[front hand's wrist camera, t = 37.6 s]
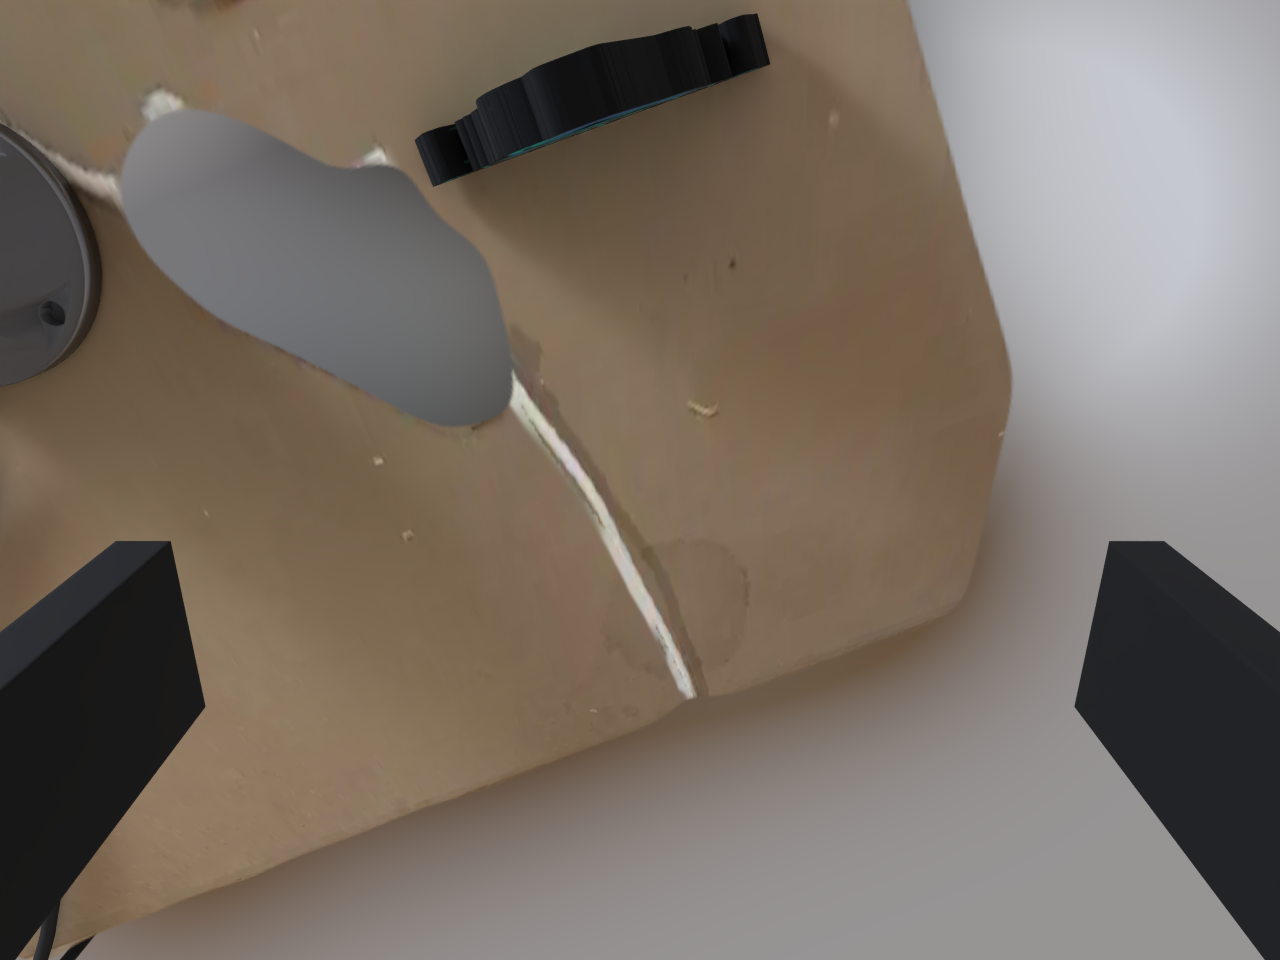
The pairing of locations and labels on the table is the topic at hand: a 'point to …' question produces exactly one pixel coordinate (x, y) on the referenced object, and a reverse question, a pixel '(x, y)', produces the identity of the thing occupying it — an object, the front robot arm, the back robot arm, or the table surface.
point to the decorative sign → (591, 93)
